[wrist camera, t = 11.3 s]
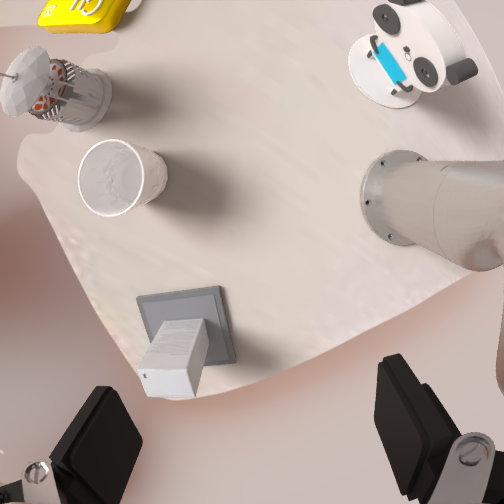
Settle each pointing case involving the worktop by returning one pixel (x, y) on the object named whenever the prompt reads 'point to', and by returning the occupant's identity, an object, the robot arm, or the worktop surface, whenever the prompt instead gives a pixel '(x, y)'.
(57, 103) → the french press
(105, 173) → the white cup
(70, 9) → the element tile
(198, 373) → the skincare box
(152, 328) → the tray
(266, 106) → the worktop surface
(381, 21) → the panda figurine
